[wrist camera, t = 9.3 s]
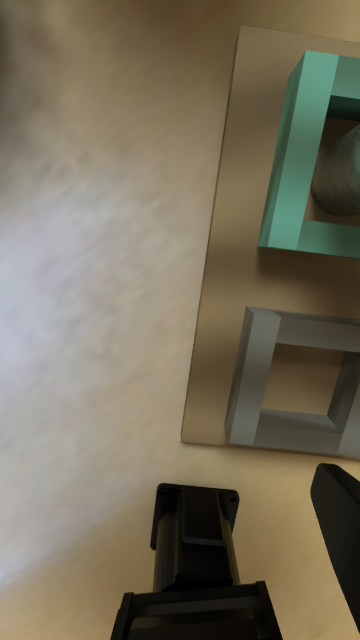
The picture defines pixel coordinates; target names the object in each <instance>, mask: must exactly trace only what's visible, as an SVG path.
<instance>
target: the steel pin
mask: <svg viewBox="0 0 360 640" xmlns="http://www.w3.org/2000/svg"><path fill="white" fill-rule="evenodd" d="M311 190H312V194H313V197H314V199H315V201H316V203H317V204H318V206H319V207H320V208H321V209H322V210H324V211H325V212H327V213H329V214H331V215H334V216H340V217H344V216H351V215H356V214H360V124H359V125H358V126H356V127H355V128H353V129H352V130H351V131H349V132H348V133H346V134H345V135H343V136H342V137H341V138H339V139H338V140H336V141H335V142H333V143H332V144H331V145H329V146H328V147H327V148H326V149H325V150H324V151H323V152H322V153H321V154H320V156H319V157H318V159H317V161H316V162H315V167H314V171H313V176H312V181H311Z"/></svg>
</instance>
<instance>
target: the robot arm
mask: <svg viewBox="0 0 360 640" xmlns="http://www.w3.org/2000/svg"><path fill="white" fill-rule="evenodd" d="M162 490H165V491H162ZM310 493H311V499H312V503H313V506H314V509H315V512H316V516H317V519H318V522H319V525H320V528H321V531H322V535H323V538H324V541H325V544H326V547H327V551H328V554H329V557H330V560H331V563H332V566H333V569H334V571H335V574H336V576H337V579H338V582H339V584H340V587H341V589H342V591H343V594H344V596H345V599H346V601H347V604H348V606H349V609H350V611H351V614H352V616H353V619H354V621H355V623H356V626H357V628H358V631H359V633H360V481H358V480H357V479H356V478H354V477H353V476H351V475H350V474H349V473H347V472H346V471H344V470H343V469H342V468H340V467H339V466H337V465H335V464H327V463H320V464H319V465H318V466H317V468H316V472H315V475H314V479H313V482H312V485H311V491H310ZM231 497H233V498H231ZM238 505H239V494H238V492H237V491H235V490H228V489H217V488H207V487H197V486H187V485H177V484H167V483H161V484H159V485H158V487H157V494H156V502H155V510H154V518H153V526H152V534H151V543H150V547H151V549H153V550H156V557H155V570H154V582H153V592H152V593H141V594H134V593H133V592H130V593H124V596H123V600H122V603H121V607H120V609H119V610H118V613H117V617H116V620H115V624H114V628H113V631H112V635H111V639H110V640H283V639H282V635H281V632H280V629H279V626H278V622H277V619H276V616H275V613H274V609H273V606H272V603H271V600H270V596H269V593H268V590H267V587H266V583H265V581H256V583H253V584H242V585H241V584H240V579H239V573H238V567H237V562H236V556H235V551H234V545H233V539H232V532H233V527H234V523H235V518H236V514H237V509H238Z"/></svg>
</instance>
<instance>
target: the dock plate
mask: <svg viewBox="0 0 360 640" xmlns="http://www.w3.org/2000/svg"><path fill="white" fill-rule="evenodd" d="M359 124H360V43H358V42H351V41H344V40H338V39H331V38H324V37H318V36H311V35H305V34H298V33H291V32H285V31H278V30H272V29H265V28H258V27H252V26H245V25H241V26H240V29H239V33H238V37H237V41H236V48H235V55H234V62H233V69H232V76H231V83H230V90H229V97H228V104H227V112H226V119H225V126H224V133H223V140H222V147H221V154H220V161H219V168H218V175H217V182H216V189H215V196H214V203H213V210H212V217H211V224H210V231H209V239H208V246H207V253H206V260H205V267H204V274H203V281H202V288H201V295H200V302H199V309H198V316H197V323H196V330H195V337H194V344H193V351H192V358H191V366H190V373H189V380H188V387H187V394H186V401H185V408H184V415H183V422H182V429H181V442H191V443H200V444H210V445H220V446H229V447H239V448H249V449H258V450H268V451H278V452H287V453H297V454H306V455H316V456H326V457H335V458H345V459H355V460H360V214H356V215H351V216H344V217H340V216H334V215H331V214H329V213H327V212H325V211H324V210H322V209H321V208H320V207H319V206H318V204H317V203H316V201H315V199H314V197H313V194H312V190H311V181H312V176H313V171H314V167H315V162H316V161H317V159H318V157H319V156H320V154H321V153H322V152H323V151H324V150H325V149H326V148H327V147H328V146H329V145H331V144H332V143H333V142H335V141H336V140H338V139H339V138H341V137H342V136H343V135H345V134H346V133H348V132H349V131H351V130H352V129H353V128H355V127H356V126H358V125H359Z"/></svg>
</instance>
